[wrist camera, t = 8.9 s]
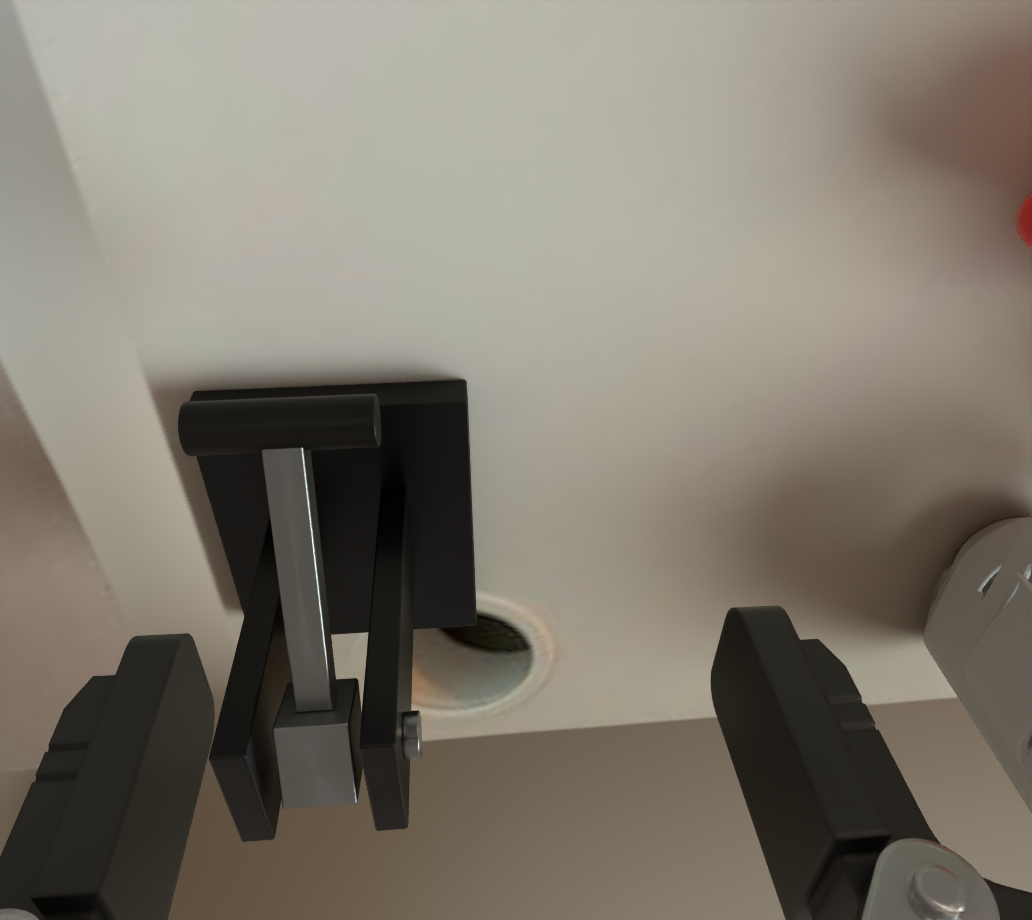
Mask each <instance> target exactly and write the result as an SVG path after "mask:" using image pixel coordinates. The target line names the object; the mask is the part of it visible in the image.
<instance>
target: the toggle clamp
mask: <svg viewBox="0 0 1032 920" xmlns="http://www.w3.org/2000/svg"><path fill="white" fill-rule="evenodd" d="M355 394H377V396H378V400H379V406H380V416H381V443H380V446H379V447H375V448H354V449H333V450H312V451H311V458H312V467H313V476H314V486H315V495H316V504H317V513H318V522H319V531H320V540H321V549H322V558H323V567H324V576H325V585H326V594H327V603H328V613H329V622H330V631H331V635H332V634H348V633H364V632H369V634H368V646H367V658H366V670H365V681H364V693H363V705H362V717H361V729H360V741H359V750H360V755H361V760H362V765H363V769H364V775H365V780H366V785H367V790H368V795H369V799H370V804H371V809H372V815H373V820H374V824H375V828H376V830H377V831H382V830H395V829H406V828H407V827H408V813H409V774H410V759H420V758H421V755H422V727H421V715H420V711H411V696H412V657H413V629H427V628H443V627H459V626H474V625H477V615H476V591H475V566H474V542H473V517H472V493H471V468H470V444H469V419H468V397H467V382H466V380H454V381H431V382H407V383H383V384H359V385H335V386H311V387H288V388H264V389H240V390H216V391H195V392H193V394H192V396H191V399H190V401H189V402H192V401H215V400H238V399H262V398H285V397H308V396H332V395H355ZM197 459H198V463H199V466H200V470H201V473H202V476H203V480H204V483H205V486H206V490H207V493H208V496H209V500H210V503H211V506H212V510H213V513H214V516H215V520H216V523H217V526H218V530H219V533H220V537H221V540H222V543H223V547H224V550H225V553H226V557H227V560H228V563H229V567H230V570H231V573H232V577H233V580H234V583H235V587H236V590H237V593H238V597H239V600H240V604H241V607H242V610H243V614H244V621H243V625H242V629H241V633H240V636H239V640H238V644H237V648H236V652H235V656H234V660H233V664H232V668H231V672H230V676H229V681H228V684H227V688H226V692H225V696H224V700H223V704H222V708H221V712H220V716H219V720H218V724H217V728H216V732H215V736H214V740H213V743H212V747H211V752H210V755H209V761H210V763H211V766H212V768H213V771H214V773H215V776H216V778H217V781H218V783H219V786H220V788H221V791H222V793H223V796H224V798H225V801H226V803H227V806H228V808H229V811H230V813H231V815H232V818H233V821H234V823H235V826H236V828H237V831H238V833H239V835H240V838H241V841H243V842H247V841H260V840H272V839H274V838H275V833H276V827H277V822H278V815H279V809H280V803H281V791H280V784H279V777H278V770H277V763H276V756H275V749H274V742H273V735H272V729H273V726H274V723H275V720H276V717H277V714H278V711H279V708H280V705H281V702H282V699H283V696H284V693H285V690H286V687H287V684H288V683H292V681H291V673H290V665H289V658H288V650H287V642H286V635H285V627H284V619H283V611H282V604H281V596H280V588H279V581H278V573H277V565H276V558H275V550H274V542H273V535H272V527H271V519H270V512H269V504H268V496H267V489H266V481H265V473H264V465H263V458H262V453H249V454H228V455H207V456H197Z"/></svg>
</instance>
